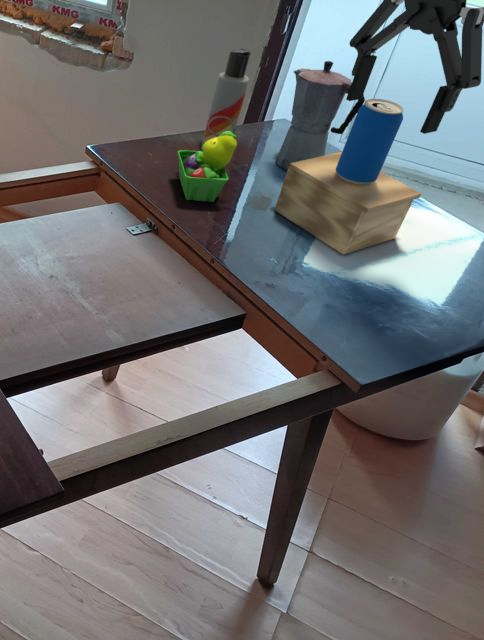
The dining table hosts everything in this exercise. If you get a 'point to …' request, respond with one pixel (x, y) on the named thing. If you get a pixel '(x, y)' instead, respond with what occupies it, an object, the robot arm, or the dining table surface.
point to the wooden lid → (360, 196)
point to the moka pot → (315, 114)
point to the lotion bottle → (228, 95)
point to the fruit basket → (206, 168)
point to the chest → (336, 215)
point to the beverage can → (369, 141)
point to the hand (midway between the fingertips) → (389, 115)
